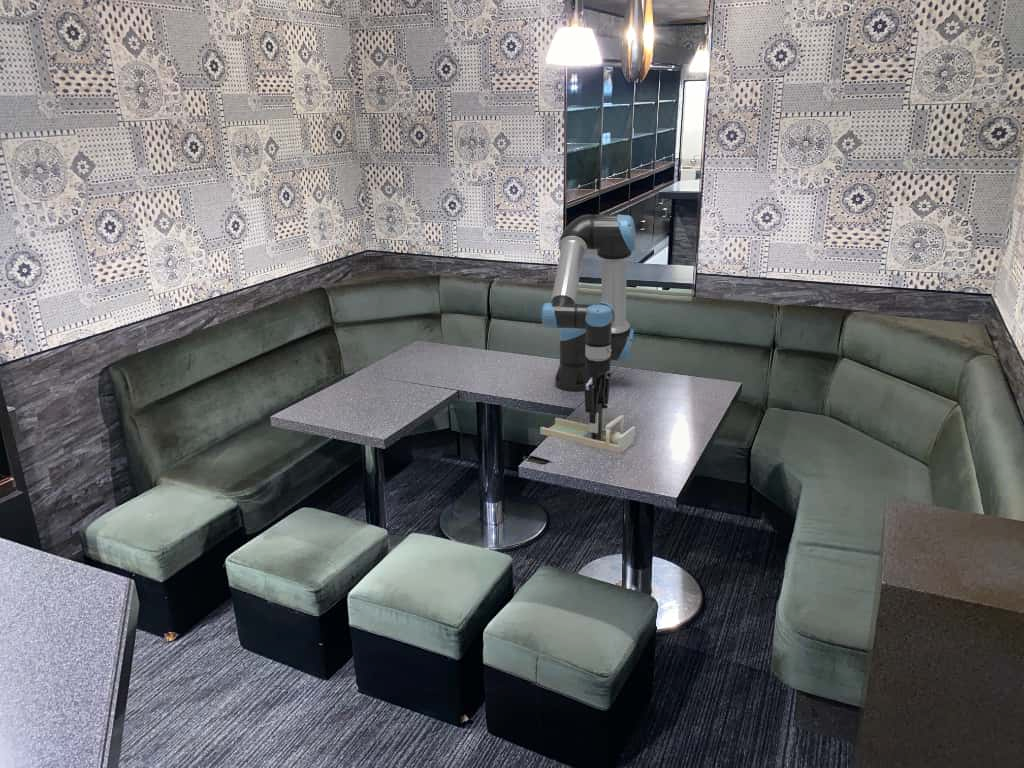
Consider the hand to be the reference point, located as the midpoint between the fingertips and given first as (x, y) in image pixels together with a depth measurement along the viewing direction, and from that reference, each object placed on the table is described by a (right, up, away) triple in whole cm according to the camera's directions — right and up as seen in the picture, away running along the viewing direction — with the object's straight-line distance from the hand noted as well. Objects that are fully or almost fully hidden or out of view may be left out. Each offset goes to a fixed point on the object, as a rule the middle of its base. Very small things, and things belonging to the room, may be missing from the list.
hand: (596, 429), depth 241 cm
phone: (-16, -7, -4) cm, 18 cm away
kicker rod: (+1, -3, +1) cm, 3 cm away
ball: (+7, -2, -4) cm, 9 cm away
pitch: (-3, -4, +3) cm, 6 cm away
